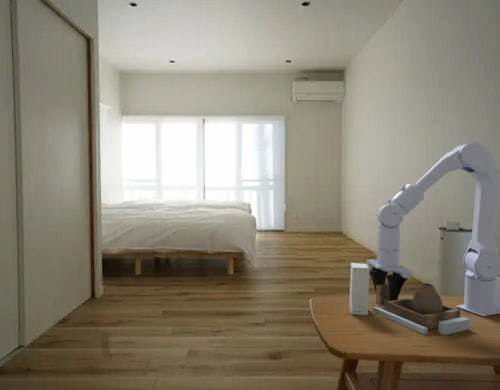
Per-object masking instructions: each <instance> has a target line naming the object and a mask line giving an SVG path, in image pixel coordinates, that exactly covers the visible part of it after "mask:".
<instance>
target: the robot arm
mask: <svg viewBox="0 0 500 390" xmlns="http://www.w3.org/2000/svg"><path fill="white" fill-rule="evenodd" d="M457 170H462V171H463V170H464V171H466V172H467V173H468V174H469V175H471V176H472V177H473V179H475V180H476V181H475V182H476V185H475V196H474V205H473V206H474V208H473V219H472V231H471V239H470V241H468V243H467V249H466V251H465V253H464V254H463V257H462V262H463V265H464V267H465V268H466V270H465V271H466V272H465V273H464V275H465V276H464V298H463V299H464V300H463V304H457V305H456V309H457V308H458V309H459V310H463V311H467V312H469V313H472V314H475V315H478V316H481V317H488V316H493V315H498V314H500V277H498V276H499V275H500V259H499V249H498V247H497V245H496V243H495V240H496V239H495V238H496V230H497V229H496V226H497V216H498V206H499V193H500V169H499V168H498V166H497V164H496V162H495V160H494V158H493V156H492V150H490V149H489V148H488V147H487V146H485V145H484V144H483V143H482V142H478V141H470V142H468V143H464V144H459V145H457V146H455V147H454V148H452V150H451V151H449V152H447V153H445V154H444V155H443V156H442V157H441V158H439V160H437V162H436V163H435V164H434V165H432V167H431V168H429V170H427V171H426V172H425V174H424V175H422V176H421V178H419V179H418V181H416V182H415V183H407V184H406V185H402V186H400V187H399V191H398V192H397V193H396V194H395V195H394V196H393V197H392V198H388V199H387V200H386V202H387V204H384V205H382V206H380V207H379V209H377V210H378V212H377V213H376V217H377V220H378V226H377V227H378V231H377V246H376V247H377V248H376V250H377V251H376V259H373V258H372V259H366V264H367V266H368V267H369V268H371V269H369V277H370V278H371V281H372V282H373V287H374V290H375V293H376V285H379V284H386V280H387V283H388V284H389V298H390V301H393V300H399V297H400V292H401V291H402V288H403V286H404V284H405V283H406V282H407V280H408V279H410V278H412V270H411V269H408V268H405V267H403V266H401V265H400V247H401V246H400V244H401V243H400V242H401V232H400V229H401V228H400V226H401V224H402V223H403V220H404V217H405V216H407V215H408V214H409V213H410V212H411V211H413V210H414V209H415V208H416V207H417V206H418V205H419V204H420V203H422V201H424V200H425V192H426V191H427V190H429V189H431V187H432V186H433V185H435V184H436V183H437V182H439V180H441V178H443V177H444V176H445V175H447V174H448V173H450V172H453V171H457ZM388 273H390V274H388Z"/></svg>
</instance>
